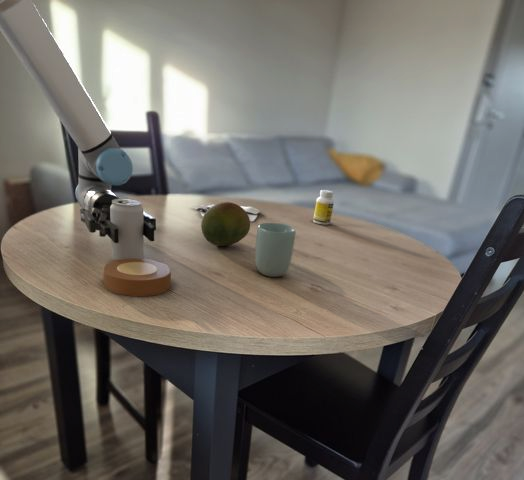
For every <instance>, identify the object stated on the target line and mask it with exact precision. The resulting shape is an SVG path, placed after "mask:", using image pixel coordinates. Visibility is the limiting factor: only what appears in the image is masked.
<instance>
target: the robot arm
mask: <svg viewBox="0 0 524 480" xmlns="http://www.w3.org/2000/svg"><path fill="white" fill-rule="evenodd" d="M0 32H1V34H2V35H3V37H4V39H5V40H6V42H7V43H8V44H9V46H10V47H11V49H12V51H13V52H14V53H15V55H16V57H17V58H18V60H19V61H20V63H21V64H22V66H23V67H24V69H25V70H26V71H27V73H28V75H29V76H30V77H31V79H32V80H33V82H34V84H35V85H36V86H37V88H38V89H39V92H40V93H41V94H42V96H43V97H44V98H45V99H46V101H47V103H48V104H49V106H50V107H51V109H52V110H53V112H54V114H55V115H56V116H57V118H58V119H59V121H60V123H61V124H62V126H63V127H64V128H65V130H66V132H67V133H68V134H69V136H70V138H71V139H72V140H73V142H74V143H75V145H76V147H77V153H78V154H77V155H78V183H77V186H76V188H75V191H74V192H75V198H76V201H77V202H78V205H79V206H80V207H81V208H80V209H79V212H80V221H81V222H82V223H84V224H85V226H86V228H87V230H88V232H89V233H92V234H94V233H96V231H99V237H102V238H104V237H106V236H107V237H109V239H110V240H112V241H113V242H114V243H119V238H118V228H117V227H116V226H115V225H114V224H113V223H112V222H111V217H110V206H111V205H112V200H114V199H121V197H119V196H117V195H116V194H115V193H113V192H112V186H122V185H123V184H126V183H127V182H128V181H129V180H130V179H131V177H132V175H133V171H134V170H133V169H134V166H133V162H132V159H131V157H130V156H129V155H128V154H127V151H125V150H123V149H122V148H121V147H120V145H119V144H118V142H117V140H116V138H115V137H114V136H113V134H112V132H111V130H110V128H109V127H108V125H107V124H106V122H105V120H104V118H103V117H102V116H101V113H100V112H99V110H98V108H97V107H96V105H95V104H94V102H93V100H92V98H91V97H90V95H89V93H88V92H87V89H85V87H84V85H83V84H82V82H81V80H80V79H79V77H78V75H77V73H76V72H75V70H74V69H73V67H72V65H71V63H70V62H69V60H68V58H67V57H66V54H65V53H64V51H63V50H62V48H61V47H60V45H59V43H58V42H57V40H56V38H55V37H54V35H53V34H52V31H50V29H49V27H48V25H47V23H46V22H45V20H44V19H43V17H42V15H41V13H40V12H39V10H38V9H37V7H36V5H35V3H34V2H33V0H0ZM143 223H144V238H146V239H147V240H148V241H149V242H155V232H156V231H157V218H156V217H154V216H152V215H151V214H149V213H147V212H145V211H144V210H143Z"/></svg>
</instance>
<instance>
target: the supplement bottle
mask: <svg viewBox="0 0 524 480" xmlns="http://www.w3.org/2000/svg"><path fill="white" fill-rule="evenodd" d="M319 195H320V196H318V197H317V198H316V202H315V207H314V214H313V219H312V220H313V223H314V224H318V225H322V226H324V225H325V226H327V225H330V224H331V222H332V221H331V220H332V215H333V209H334V203H335V202H334V199H333V196H334V191H332V190H328V189H321V190H320V191H319Z"/></svg>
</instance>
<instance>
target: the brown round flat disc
mask: <svg viewBox="0 0 524 480" xmlns="http://www.w3.org/2000/svg"><path fill="white" fill-rule="evenodd" d="M102 270H103V285H104V287H105V289H107V290H108V291H110V292H112V293H115V294H118V295H122V296H130V297H149V296H150V297H151V296H155V295H159V294H163V293H165V292H167V291H168V290H169V289H170V288H171V286H172V285H171V283H172V282H171V281H172V268H170V266H169V265H167V264H166V263H163V262H161V261H157V260H154V259H147V258H143V259H121V260H115V259H114V260H112V261H109V262H107V263H106V264H105V265H104V266H103V269H102Z"/></svg>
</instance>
